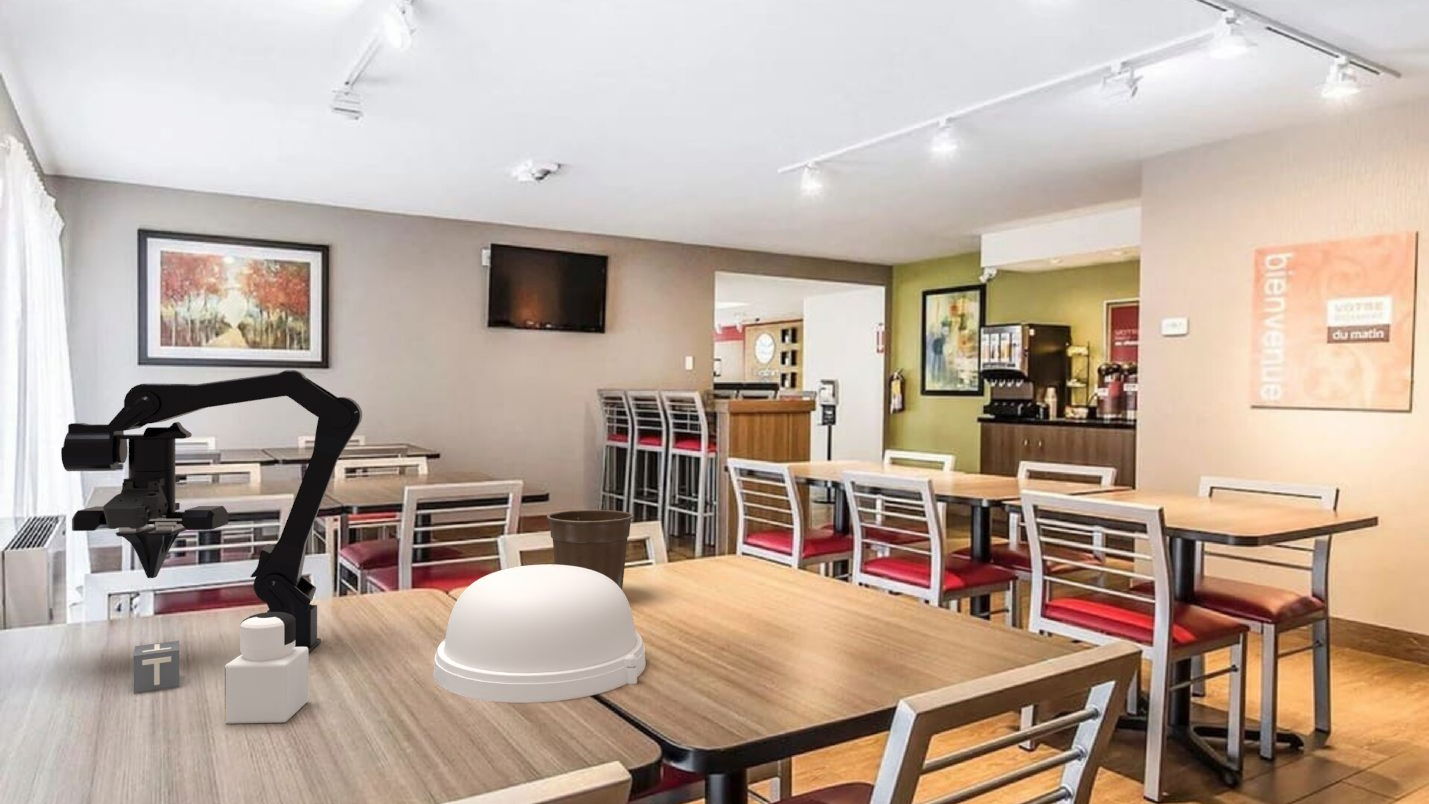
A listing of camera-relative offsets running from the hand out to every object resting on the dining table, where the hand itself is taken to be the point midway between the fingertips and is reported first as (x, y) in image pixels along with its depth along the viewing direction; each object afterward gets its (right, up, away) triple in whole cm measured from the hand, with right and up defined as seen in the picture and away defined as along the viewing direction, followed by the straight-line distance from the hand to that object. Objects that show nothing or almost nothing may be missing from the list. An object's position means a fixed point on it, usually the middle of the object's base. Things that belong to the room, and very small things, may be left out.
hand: (152, 577), depth 127 cm
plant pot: (+58, -12, +39) cm, 71 cm away
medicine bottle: (+27, -13, -20) cm, 36 cm away
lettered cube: (+7, -12, -10) cm, 17 cm away
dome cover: (+57, -13, 0) cm, 58 cm away
